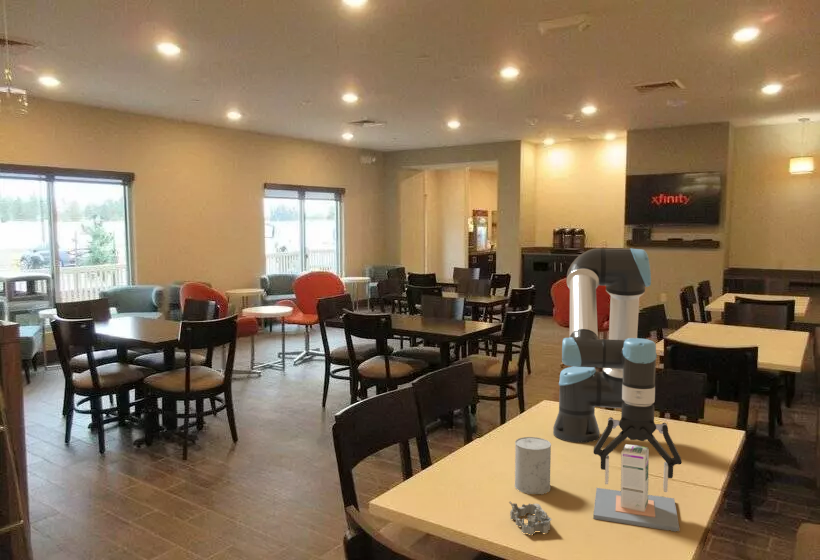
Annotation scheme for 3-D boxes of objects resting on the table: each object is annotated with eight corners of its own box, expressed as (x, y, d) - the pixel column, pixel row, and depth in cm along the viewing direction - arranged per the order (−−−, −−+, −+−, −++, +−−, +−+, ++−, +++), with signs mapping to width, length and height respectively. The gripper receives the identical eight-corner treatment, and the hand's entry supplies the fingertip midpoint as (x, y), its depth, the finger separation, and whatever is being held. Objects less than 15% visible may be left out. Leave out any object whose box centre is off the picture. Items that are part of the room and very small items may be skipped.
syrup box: (645, 512, 144) (647, 454, 143) (619, 507, 147) (621, 450, 146) (648, 503, 149) (649, 447, 148) (623, 498, 152) (625, 443, 151)
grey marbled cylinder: (552, 482, 164) (552, 439, 163) (548, 497, 155) (549, 451, 154) (517, 477, 167) (518, 435, 166) (511, 492, 158) (512, 447, 157)
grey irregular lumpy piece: (507, 516, 146) (507, 500, 145) (536, 513, 147) (536, 497, 147) (522, 538, 135) (522, 520, 135) (553, 535, 136) (554, 518, 136)
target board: (593, 518, 144) (593, 513, 143) (596, 491, 159) (596, 486, 158) (679, 532, 137) (679, 527, 137) (673, 502, 152) (674, 497, 152)
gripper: (584, 401, 146) (582, 484, 148) (695, 411, 138) (692, 500, 140) (586, 393, 153) (584, 473, 155) (692, 402, 145) (689, 487, 147)
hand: (635, 486), depth 147 cm, fingers open, 13 cm apart
